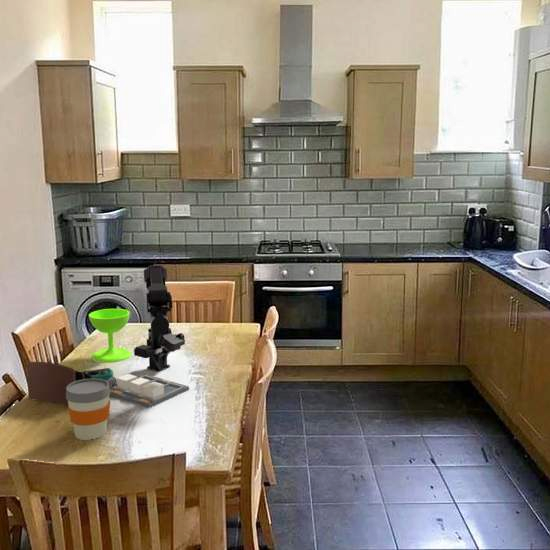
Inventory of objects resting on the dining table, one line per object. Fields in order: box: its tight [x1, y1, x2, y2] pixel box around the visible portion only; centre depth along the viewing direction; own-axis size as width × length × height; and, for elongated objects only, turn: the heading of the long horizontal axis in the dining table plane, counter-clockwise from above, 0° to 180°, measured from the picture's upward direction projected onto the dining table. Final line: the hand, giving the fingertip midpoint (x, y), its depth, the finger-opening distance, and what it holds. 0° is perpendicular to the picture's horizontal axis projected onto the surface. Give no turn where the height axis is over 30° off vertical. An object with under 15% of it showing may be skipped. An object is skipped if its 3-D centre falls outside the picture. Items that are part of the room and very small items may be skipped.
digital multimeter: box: [79, 367, 114, 381], centre depth 227 cm, size 7×15×3 cm, turn 111°
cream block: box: [130, 377, 150, 395], centre depth 210 cm, size 5×5×4 cm
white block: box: [116, 373, 138, 391], centre depth 214 cm, size 5×5×4 cm
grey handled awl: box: [106, 376, 117, 388], centre depth 216 cm, size 14×3×3 cm
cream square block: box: [143, 382, 164, 399], centre depth 207 cm, size 5×5×4 cm
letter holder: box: [26, 361, 92, 407], centre depth 208 cm, size 10×20×14 cm, turn 69°
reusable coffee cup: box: [66, 378, 111, 441], centre depth 182 cm, size 13×12×15 cm
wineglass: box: [88, 308, 132, 363], centre depth 250 cm, size 16×16×18 cm
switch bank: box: [109, 374, 190, 408], centre depth 214 cm, size 19×20×2 cm
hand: (161, 370), depth 208 cm, fingers closed
